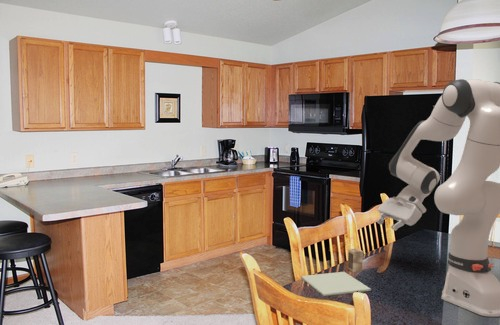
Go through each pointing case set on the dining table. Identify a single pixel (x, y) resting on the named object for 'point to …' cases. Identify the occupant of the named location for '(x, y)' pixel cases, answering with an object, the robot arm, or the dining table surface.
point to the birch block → (355, 260)
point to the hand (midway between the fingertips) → (385, 226)
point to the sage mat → (335, 283)
